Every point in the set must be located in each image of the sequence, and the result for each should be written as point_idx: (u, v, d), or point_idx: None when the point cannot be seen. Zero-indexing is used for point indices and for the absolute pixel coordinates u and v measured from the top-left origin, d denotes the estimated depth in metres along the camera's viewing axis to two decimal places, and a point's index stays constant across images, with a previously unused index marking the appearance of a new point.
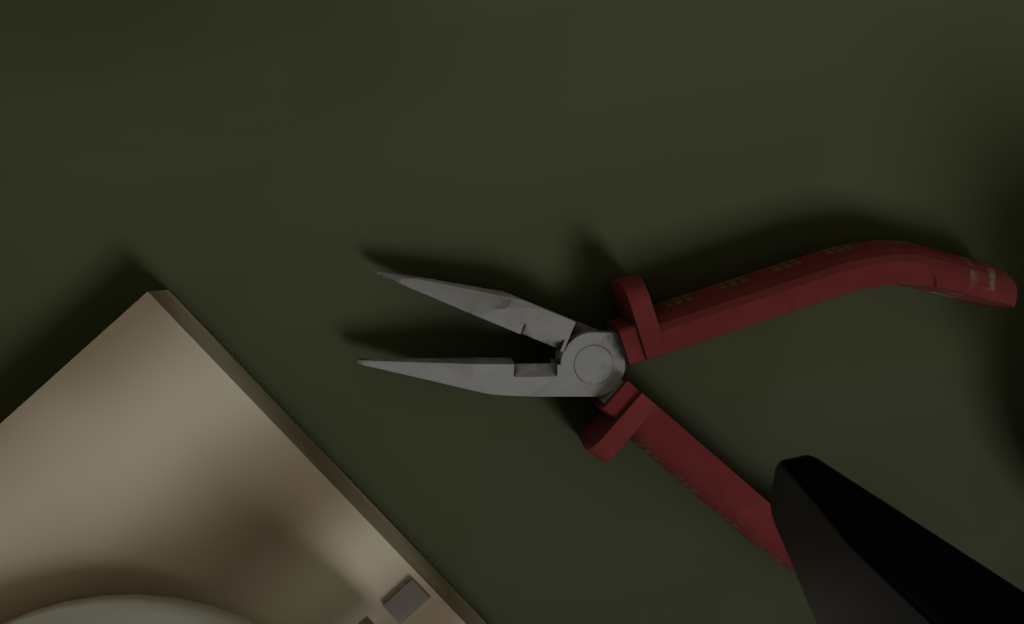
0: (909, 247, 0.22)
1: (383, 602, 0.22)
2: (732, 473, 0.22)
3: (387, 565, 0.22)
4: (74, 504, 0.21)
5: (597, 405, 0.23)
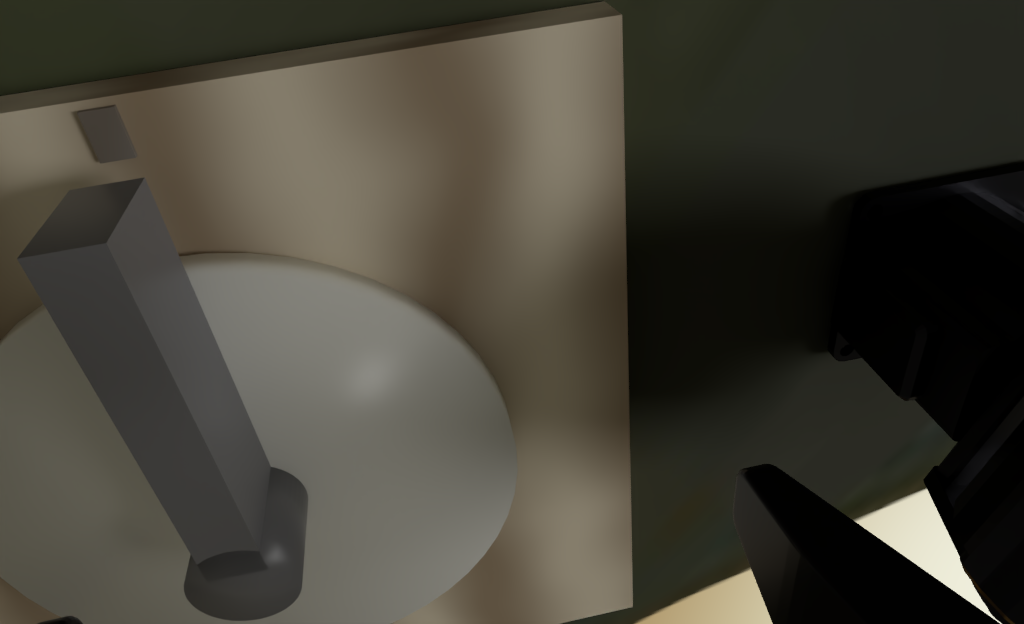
0: None
1: (100, 160, 0.17)
2: None
3: (47, 129, 0.16)
4: None
5: None
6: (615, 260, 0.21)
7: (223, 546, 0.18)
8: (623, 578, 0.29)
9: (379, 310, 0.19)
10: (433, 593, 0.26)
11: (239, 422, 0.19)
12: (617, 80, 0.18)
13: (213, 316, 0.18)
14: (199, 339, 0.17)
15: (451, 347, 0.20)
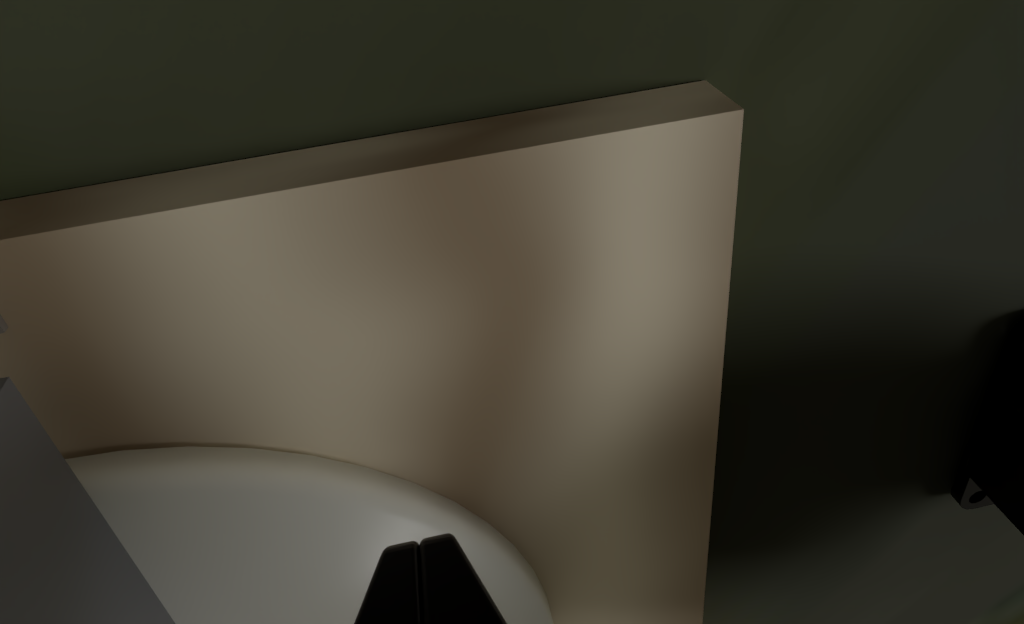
0: None
1: None
2: None
3: None
4: None
5: None
6: (703, 424, 0.15)
7: None
8: None
9: (378, 521, 0.13)
10: None
11: None
12: (728, 199, 0.12)
13: (135, 544, 0.12)
14: (110, 592, 0.12)
15: (479, 556, 0.14)
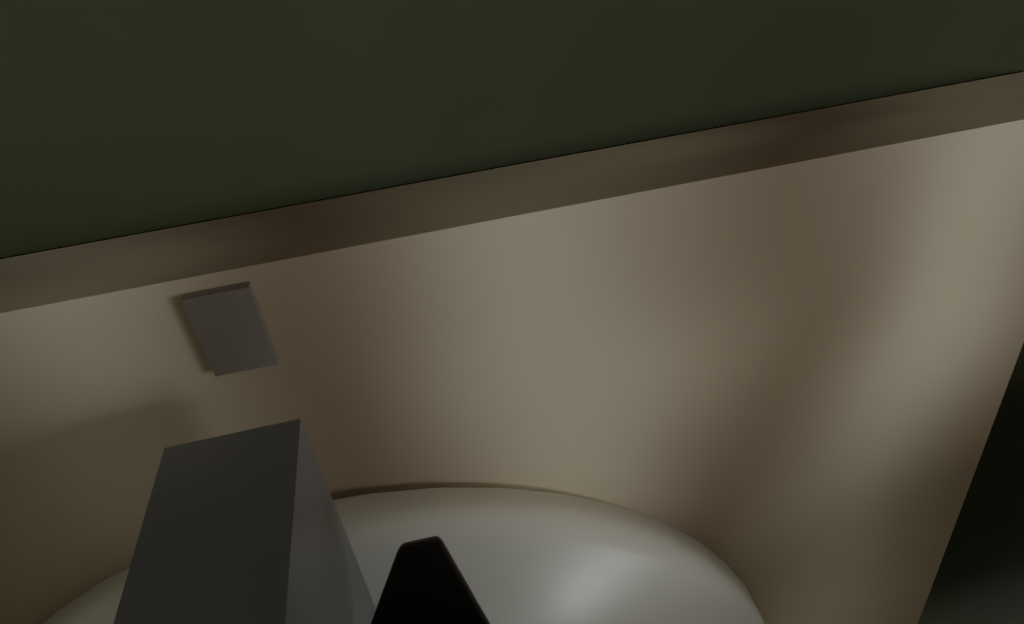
0: None
1: (213, 368, 0.09)
2: None
3: (125, 326, 0.09)
4: None
5: None
6: (967, 452, 0.14)
7: None
8: None
9: (642, 568, 0.12)
10: None
11: None
12: None
13: None
14: None
15: (735, 603, 0.13)
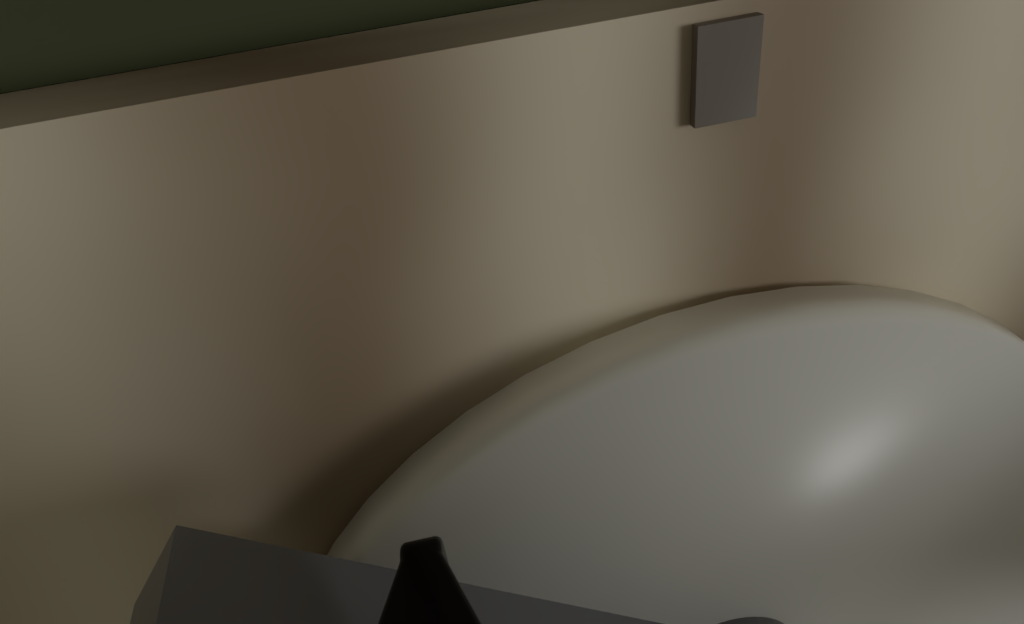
0: None
1: (688, 122, 0.09)
2: None
3: (626, 62, 0.08)
4: (136, 529, 0.11)
5: None
6: None
7: None
8: None
9: (643, 387, 0.10)
10: None
11: None
12: None
13: None
14: None
15: (807, 334, 0.10)
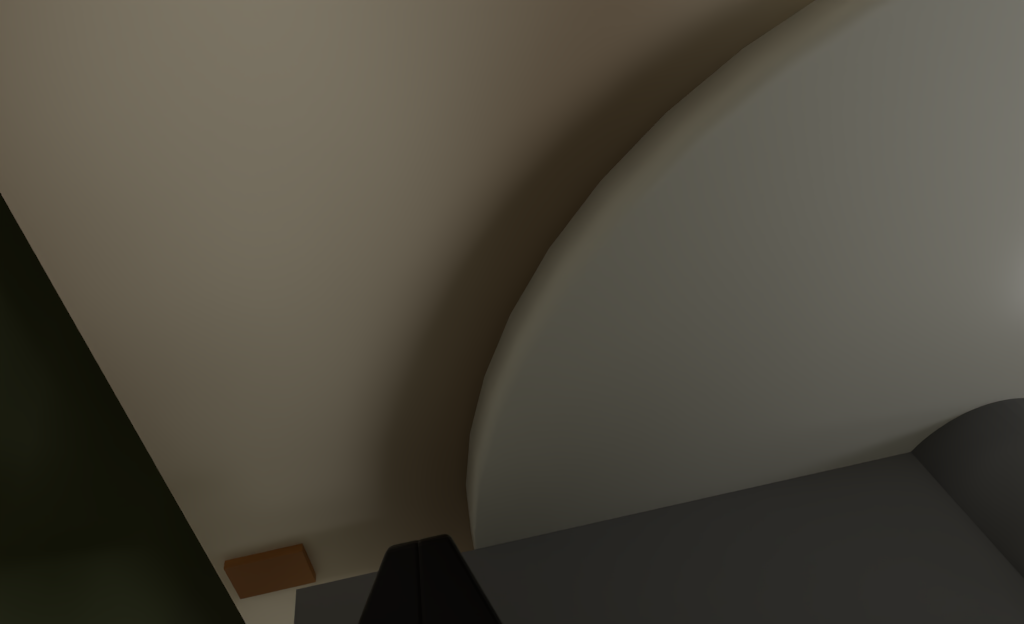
0: None
1: None
2: None
3: None
4: (318, 192, 0.08)
5: None
6: None
7: None
8: None
9: (604, 276, 0.08)
10: None
11: (777, 529, 0.10)
12: None
13: (561, 521, 0.10)
14: (580, 581, 0.10)
15: (755, 109, 0.07)
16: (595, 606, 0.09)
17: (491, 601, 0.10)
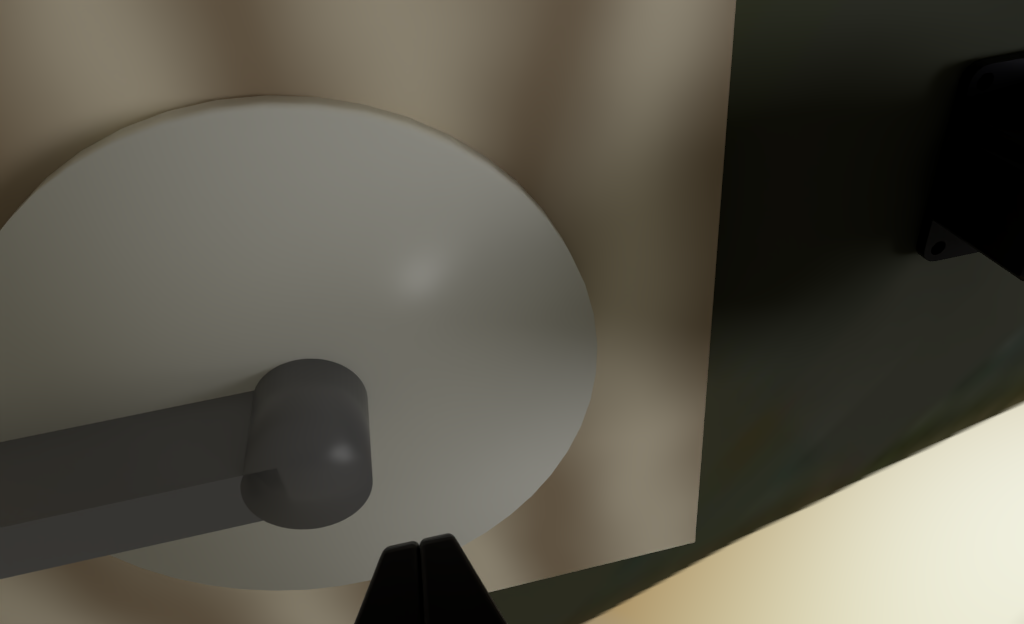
0: None
1: None
2: None
3: None
4: None
5: None
6: (714, 123, 0.19)
7: (232, 502, 0.17)
8: (688, 508, 0.27)
9: None
10: (526, 218, 0.18)
11: (147, 431, 0.18)
12: None
13: (32, 429, 0.18)
14: (25, 459, 0.18)
15: (21, 212, 0.15)
16: (23, 470, 0.17)
17: None
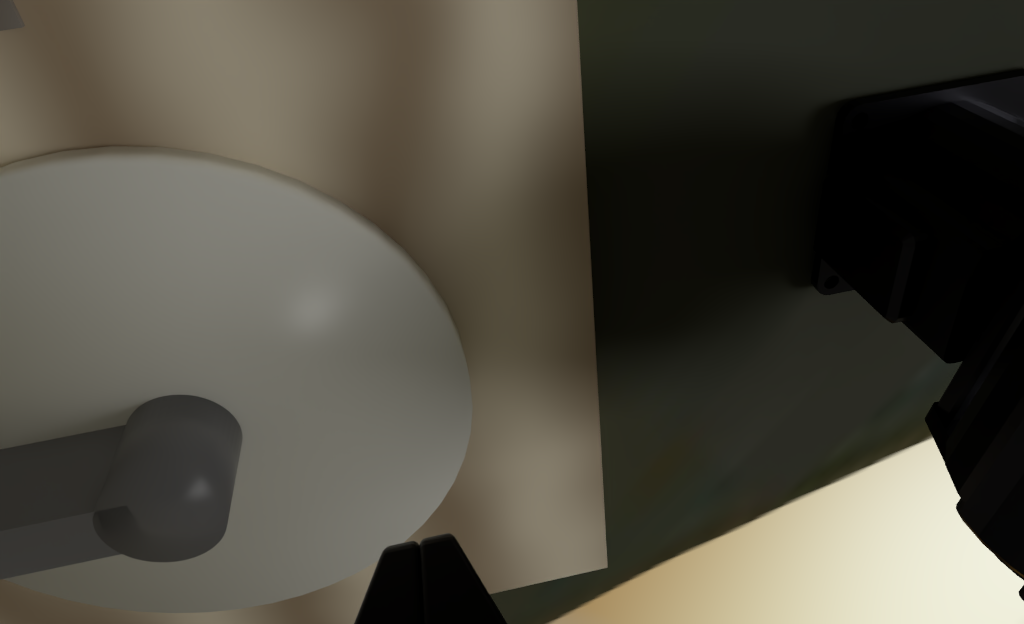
0: None
1: None
2: None
3: None
4: None
5: None
6: (573, 167, 0.19)
7: (87, 536, 0.17)
8: (596, 535, 0.28)
9: None
10: (380, 261, 0.18)
11: (17, 465, 0.19)
12: None
13: None
14: None
15: None
16: None
17: None
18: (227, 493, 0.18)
